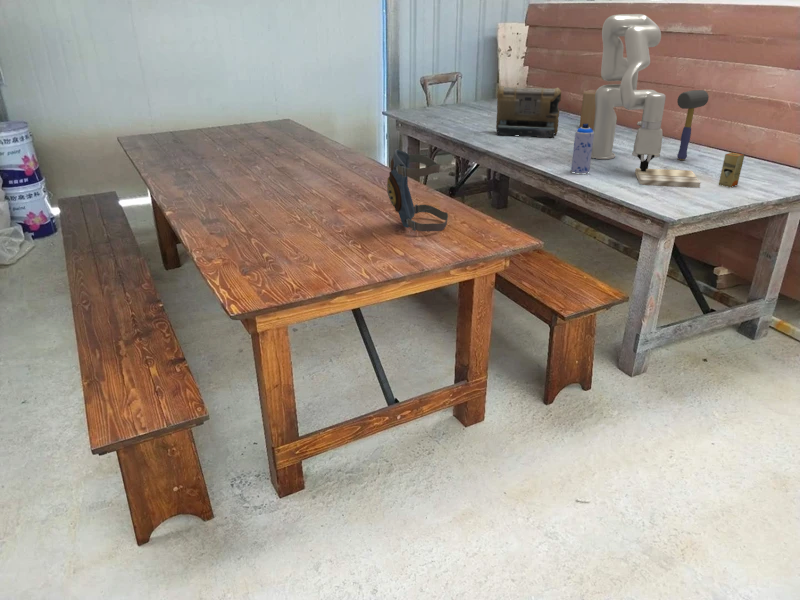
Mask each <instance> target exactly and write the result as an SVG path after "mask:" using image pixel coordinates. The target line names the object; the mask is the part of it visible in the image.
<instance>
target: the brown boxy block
mask: <svg viewBox="0 0 800 600" xmlns="http://www.w3.org/2000/svg"><path fill="white" fill-rule="evenodd" d="M496 94H497V102H496V125H495V129H496V135H497V134H498V135H497V136H505V135H519V136H537V137H536V138H551V137H552V138H555V136H557V134H558V129H559V116H560V109H559V108H560V107H559V103H560V102H561V100H562V90H561V89H560V88H559V87H556V88H543V87H542V88H540V87H539V88H538V87H517V86H516V87H509V86H507V87H506V86H504V85H500V86H499V87H498V89H497V93H496ZM554 133H555V134H554ZM519 136H518V137H519Z"/></svg>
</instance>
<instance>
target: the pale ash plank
mask: <svg viewBox="0 0 800 600" xmlns="http://www.w3.org/2000/svg"><path fill="white" fill-rule="evenodd" d="M634 174H635V176H636V178H637V179H638V174H641V175H662V176H683V177H697V176H696V174H695V173H694V172H693V170H688V169H687V170H683V169H667V168H666V169H662V168H660V169H659V168H648V169H646V171H641V169H640V167H635V171H634Z"/></svg>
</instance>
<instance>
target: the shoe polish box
mask: <svg viewBox="0 0 800 600" xmlns="http://www.w3.org/2000/svg"><path fill="white" fill-rule="evenodd" d="M744 159H745V154H743V153H738V152H737V153H736V152H728V153H725V154H724V159H723V163H722V167H721V172H720V176H719V181H718V185H719V186H722V185H723V186H722V187H726V186H728V187H727V188H730V187H731V188H733V187H732V186H734V187H736V186H735V185H737V186H738V184H739V181H740V176H741V172H742V169H743V168H742V167H743V163H744Z"/></svg>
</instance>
